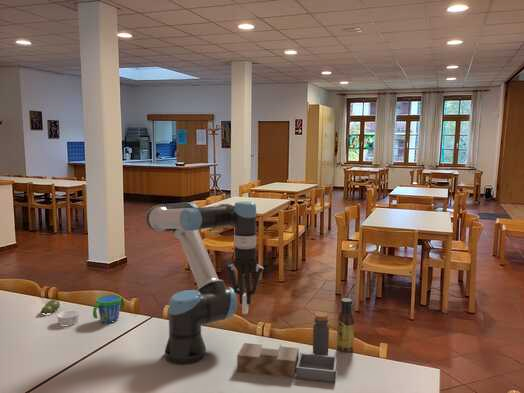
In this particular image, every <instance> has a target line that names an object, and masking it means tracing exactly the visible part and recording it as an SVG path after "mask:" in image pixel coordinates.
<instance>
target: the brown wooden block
mask: <svg viewBox="0 0 524 393" xmlns="http://www.w3.org/2000/svg"><path fill="white" fill-rule="evenodd" d="M262 345H263V344H260V343H259V344H258V343H249V342H244V343H243V344H242V346H241V348H240V350H239V351H238V353H237V355H236V366H237V367H236V369H237V370H236V371H237V373H245V374H246V373H247V374H255V375H256V374H257V375H263V376H274V377H283V378H289V379H290V378H292V379H296V366H297V363H298V359H299V356H300V352H299V351H300V350H299V347H291V346H289V347H288V346H281V351H280V353H279V356H268V355H261V347H262Z"/></svg>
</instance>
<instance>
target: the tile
mask: <svg viewBox="0 0 524 393" xmlns="http://www.w3.org/2000/svg"><path fill="white" fill-rule="evenodd" d="M261 345H262V347H261V355H268V356H279V353H280V351H281V347H282V342H281V341H271V340H264V341H263V343H262V344H261Z"/></svg>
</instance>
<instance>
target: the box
mask: <svg viewBox="0 0 524 393" xmlns="http://www.w3.org/2000/svg"><path fill="white" fill-rule="evenodd" d="M337 362H338V356H334V355H333V356H331V355H315V354H314V353H302V352H299V359H298V363H297V366H296V375H295V379H296V380H303V381H313V382H321V383H322V382H323V383H331V384H336V377H337Z"/></svg>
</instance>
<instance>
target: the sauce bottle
mask: <svg viewBox="0 0 524 393" xmlns="http://www.w3.org/2000/svg"><path fill="white" fill-rule="evenodd" d="M340 304H341V309H340V312H339V313H338V316H337V325H336V326H337V327H336V328H337V332H336V333H337V334H336V344H337V345H336V348H337V350H339V351H340V352H343V353H350V352H352V351H353V349H354V343H355V342H354V341H355V340H354V336H355V333H354V332H355V316H354V315H353V314H354V313H353V312H352V305H353V300H352V299H351V298H349V297H344V298H341V301H340Z"/></svg>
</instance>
